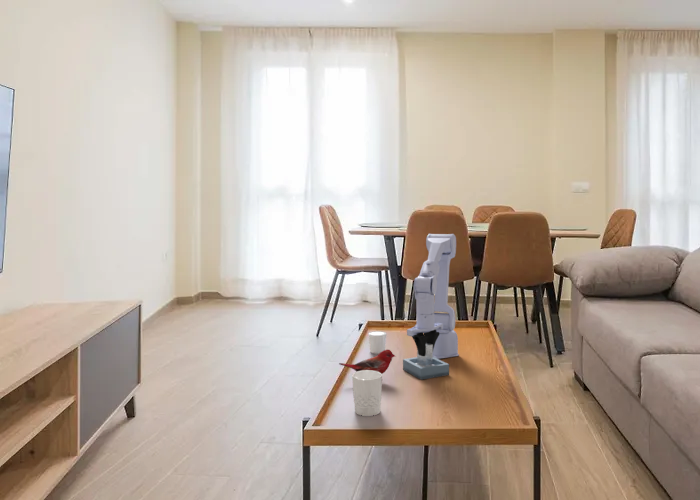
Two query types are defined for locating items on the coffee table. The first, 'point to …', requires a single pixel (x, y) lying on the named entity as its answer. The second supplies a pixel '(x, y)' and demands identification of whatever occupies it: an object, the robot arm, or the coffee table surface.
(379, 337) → the off-white tapered cylinder
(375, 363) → the decorative bird figurine
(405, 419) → the coffee table surface
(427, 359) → the grey t-shaped bar
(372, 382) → the white cup
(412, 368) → the slate well
